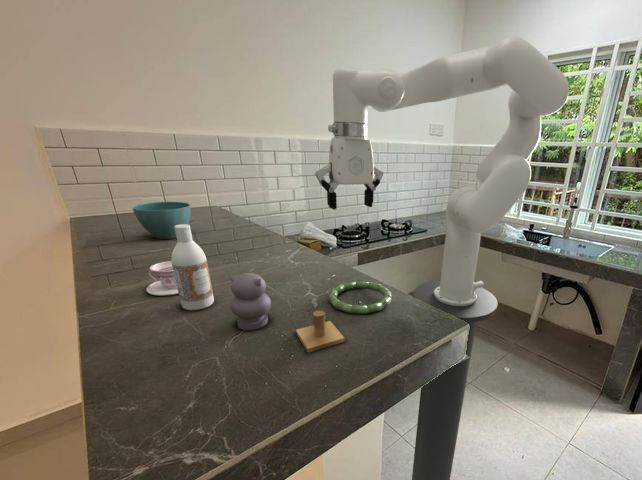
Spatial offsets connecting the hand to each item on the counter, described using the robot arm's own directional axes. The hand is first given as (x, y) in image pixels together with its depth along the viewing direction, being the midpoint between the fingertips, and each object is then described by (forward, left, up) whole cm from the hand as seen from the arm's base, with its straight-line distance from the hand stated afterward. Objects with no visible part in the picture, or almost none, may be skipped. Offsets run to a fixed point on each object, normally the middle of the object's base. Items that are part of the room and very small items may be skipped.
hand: (351, 207), depth 80 cm
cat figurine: (+26, +3, -24) cm, 36 cm away
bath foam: (+36, -12, -24) cm, 45 cm away
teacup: (+41, -26, -24) cm, 54 cm away
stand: (+15, +16, -24) cm, 33 cm away
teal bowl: (+42, -80, -24) cm, 94 cm away
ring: (-1, +4, -23) cm, 24 cm away
